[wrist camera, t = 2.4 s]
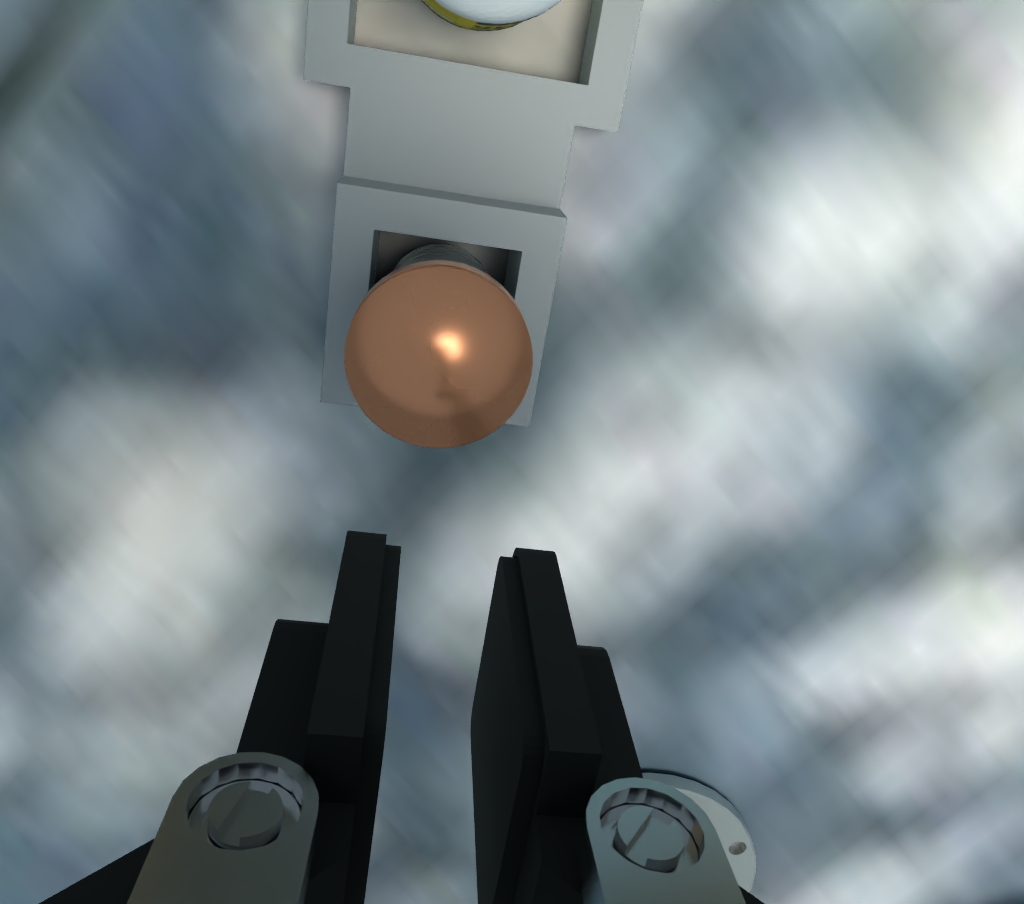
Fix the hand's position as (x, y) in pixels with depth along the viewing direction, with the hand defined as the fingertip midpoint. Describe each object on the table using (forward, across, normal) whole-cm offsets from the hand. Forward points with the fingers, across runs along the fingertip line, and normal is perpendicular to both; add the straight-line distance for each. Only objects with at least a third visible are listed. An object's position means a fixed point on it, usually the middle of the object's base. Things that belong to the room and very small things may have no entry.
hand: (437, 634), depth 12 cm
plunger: (+19, 0, 0) cm, 19 cm away
